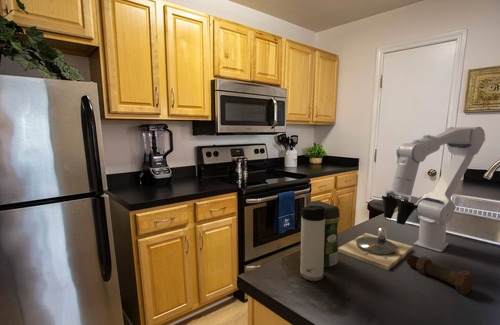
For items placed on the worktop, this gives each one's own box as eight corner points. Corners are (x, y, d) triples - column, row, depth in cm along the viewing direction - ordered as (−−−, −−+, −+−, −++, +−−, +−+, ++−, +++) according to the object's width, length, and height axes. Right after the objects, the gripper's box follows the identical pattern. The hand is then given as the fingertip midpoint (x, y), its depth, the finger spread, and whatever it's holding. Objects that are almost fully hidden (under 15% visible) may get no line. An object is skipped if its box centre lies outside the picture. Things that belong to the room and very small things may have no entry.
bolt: (410, 270, 78) (468, 297, 65) (400, 265, 76) (459, 292, 62) (416, 252, 79) (476, 275, 65) (407, 247, 77) (467, 269, 63)
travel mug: (311, 284, 68) (312, 210, 66) (295, 272, 74) (296, 204, 71) (329, 278, 71) (331, 207, 69) (312, 267, 77) (314, 201, 74)
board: (365, 235, 100) (365, 232, 99) (412, 249, 88) (412, 245, 87) (337, 251, 87) (337, 247, 86) (388, 270, 75) (388, 265, 74)
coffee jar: (301, 256, 83) (302, 200, 81) (321, 251, 86) (322, 197, 84) (321, 271, 74) (323, 208, 72) (342, 265, 78) (344, 204, 76)
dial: (366, 236, 95) (367, 223, 95) (402, 246, 86) (403, 232, 86) (349, 245, 87) (350, 231, 87) (386, 258, 78) (387, 243, 78)
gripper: (380, 175, 90) (371, 212, 91) (405, 178, 76) (393, 223, 76) (400, 180, 90) (390, 217, 91) (428, 184, 76) (417, 229, 76)
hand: (393, 220), depth 83 cm, fingers open, 7 cm apart
